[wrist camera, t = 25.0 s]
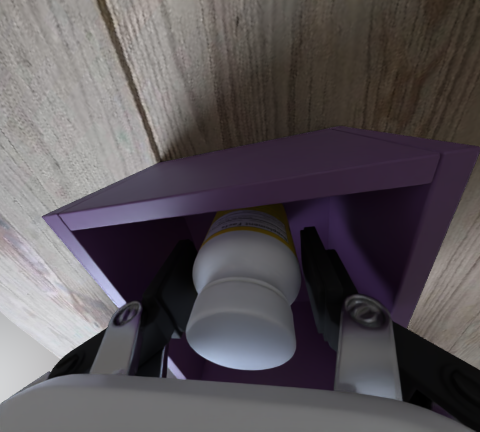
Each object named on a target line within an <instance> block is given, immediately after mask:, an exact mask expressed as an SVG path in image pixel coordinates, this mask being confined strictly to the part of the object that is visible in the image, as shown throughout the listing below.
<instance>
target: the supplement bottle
mask: <svg viewBox="0 0 480 432" xmlns="http://www.w3.org/2000/svg"><path fill="white" fill-rule="evenodd" d="M192 277H193V283H194V286H195V289H196V291H197V293H198V296H197V299H196V301H195V303H194V306H193V309H192V312H191V315H190V318H189V321H188V324H187V327H186V338H187V341H188V343H189V344H190V346H191V347H192V348H193V349H194V350H195V351H196V352H197V353H198V354H199V355H201V356H202V357H204V358H205V359H207V360H209V361H211V362H214V363H216V364H219V365H221V366H225V367H229V368H234V369H241V370H263V369H270V368H273V367H277V366H280V365H282V364H284V363H285V362H287V361H288V360H290V359H291V358H292V356H293V355H294V353H295V350H296V337H295V330H294V322H293V313H292V310H291V306H290V305H291V304H292V303H293V302H294V301H295V299H296V297H297V295H298V293H299V290H300V287H301V272H300V266H299V262H298V258H297V254H296V250H295V247H294V243H293V238H292V234H291V231H290V227H289V223H288V219H287V215H286V211H285V208H284V205H283V203H278V204H270V205H263V206H255V207H247V208H240V209H232V210H225V211H217V213H216V215H215V217H214V220H213V222H212V224H211V226H210V228H209V231H208V233H207V235H206V237H205V239H204V241H203V243H202V245H201V247H200V250H199V252H198V254H197V257H196V259H195V262H194V265H193V271H192Z"/></svg>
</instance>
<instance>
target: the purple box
mask: <svg viewBox="0 0 480 432" xmlns="http://www.w3.org/2000/svg"><path fill="white" fill-rule="evenodd" d="M479 154H480V147H479V146H473V145H466V144H459V143H453V142H446V141H439V140H432V139H425V138H419V137H412V136H405V135H398V134H392V133H385V132H378V131H371V130H364V129H358V128H351V127H345V126H337V127H332V128H327V129H322V130H317V131H312V132H307V133H302V134H298V135H293V136H288V137H283V138H278V139H273V140H268V141H263V142H258V143H253V144H248V145H244V146H239V147H234V148H229V149H224V150H219V151H214V152H209V153H204V154H199V155H194V156H189V157H185V158H180V159H175V160H170V161H165V162H160V163H157V164H155V165H153V166H151V167H148V168H146V169H144V170H142V171H140V172H137V173H135V174H133V175H131V176H129V177H126V178H124V179H122V180H120V181H118V182H116V183H113V184H111V185H109V186H107V187H105V188H102V189H100V190H98V191H96V192H94V193H91V194H89V195H87V196H85V197H83V198H81V199H78V200H76V201H74V202H72V203H70V204H67V205H65V206H63V207H61V208H59V209H56V210H54V211H52V212H50V213H48V214H46V215H43V216H42V218H43V219H44V220H45V221H46V223H47V224H48V225H49V226H50V227H51V229H52V230H53V231H54V232H55V233H56V234H57V236H58V237H59V238H60V239H61V240H62V242H63V243H64V244H65V245H66V246H67V248H68V249H69V250H70V251H71V252H72V254H73V255H74V256H75V257H76V258H77V260H78V261H79V262H80V263H81V264H82V265H83V267H84V268H85V269H86V270H87V271H88V273H89V274H90V275H91V276H92V277H93V279H94V280H95V281H96V282H97V283H98V285H99V286H100V287H101V288H102V289H103V291H104V292H105V293H106V294H107V295H108V296H109V298H110V299H111V300H112V301H113V302H114V304H115V305H116V306H117V307H118V308H120V307H121V306H123V305H124V304H126V303H128V302H130V301H133V300H139V301H141V300H142V299H143V297H142V295H143V293H144V292H145V290H146V289H147V287H148V286H149V284H150V283H151V281H152V280H153V278H154V277H155V275H156V274H157V272H158V271H159V269H160V268H161V266H162V265H163V263H164V262H165V261H166V259H167V258H168V256H169V255H170V253H171V252H172V250H173V249H174V247H175V246H176V244H177V243H178V241H179V240H184V239H189V240H190V241H192V242H193V243H194V245H195V248H196V250H197V253H198V252H199V250H200V247H201V245H202V243H203V241H204V239H205V237H206V235H207V233H208V231H209V228H210V226H211V224H212V222H213V220H214V217H215V215H216V213H217V211H225V210H232V209H240V208H247V207H255V206H263V205H270V204H278V203H283V205H284V208H285V211H286V215H287V219H288V223H289V227H290V231H291V234H292V238H293V243H294V247H295V250H296V254H297V258H298V262H299V266H300V272H301V287H300V290H299V293H298V295H297V297H296V299H295V301H294V302H293V303H292V304H291V305H290V306H291V310H292V313H293V322H294V330H295V337H296V350H295V353H294V355H293V356H292V358H291V359H290V360H288V361H287V362H285V363H284V364H282V365H280V366H277V367H273V368H270V369H263V370H241V369H234V368H229V367H225V366H221V365H219V364H216V363H214V362H211V361H209V360H207V359H205V358H204V357H202V356H201V355H199V354H198V353H197V352H196V351H195V350H194V349H193V348H192V347H191V346H190V344H189V343H188V341H187V338H186V331H185V332H183V334H182V337H181V339H178V338H171V339H170V342H169V351H168V365H167V367H168V368H169V369H170V370H171V372H172V373H173V374H174V375H175V376H176V377H177V379H187V380H201V381H215V382H229V383H243V384H256V385H270V386H283V387H296V388H309V389H319V390H330V391H333V389H334V378H335V368H336V357H337V352H336V351H335V350H333V349H332V348H331V347H330V346H329V343H328V341H324V337H323V333H318V331H317V327H316V323H315V319H314V315H313V311H312V307H311V303H310V299H309V295H308V291H307V287H306V283H305V279H304V275H303V271H302V260H301V241H300V230H304V227H311V226H315V228H316V230H317V232H318V234H319V237H320V239H321V241H322V243H323V245H324V248H325V250H328V249H335V250H336V252H337V253H338V255H339V257H340V259H341V261H342V263H343V265H344V267H345V268H346V270H347V272H348V274H349V276H350V278H351V280H352V282H353V284H354V285H355V287H356V289H357V291H358V293H359V294H365V295H368V296H371V297H373V298H375V299H376V300H378V301H380V302H381V303H382V304H383V305H384V306H385V307H386V308H387V310H388V311H389V313H390V316H391V318H392V321H394V322H396V323H397V324H399V325H401V326H403V327H404V328H406V329H407V327H408V324H409V322H410V319H411V317H412V315H413V312H414V310H415V307H416V305H417V303H418V300H419V298H420V295H421V293H422V291H423V288H424V286H425V283H426V281H427V279H428V276H429V274H430V271H431V269H432V267H433V264H434V262H435V259H436V257H437V254H438V252H439V250H440V247H441V245H442V242H443V240H444V238H445V235H446V233H447V230H448V228H449V226H450V223H451V221H452V218H453V216H454V214H455V211H456V209H457V206H458V204H459V202H460V199H461V197H462V194H463V192H464V190H465V187H466V185H467V182H468V180H469V178H470V175H471V173H472V170H473V168H474V166H475V163H476V161H477V158H478V156H479Z"/></svg>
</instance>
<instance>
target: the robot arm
mask: <svg viewBox="0 0 480 432" xmlns="http://www.w3.org/2000/svg"><path fill="white" fill-rule="evenodd" d="M300 241H301V260H302V271H303V275H304V279H305V283H306V287H307V291H308V295H309V299H310V303H311V307H312V311H313V315H314V319H315V323H316V327H317V331H318V333H323V337H324V341H328V343H329V346H330V347H331V348H332V349H333V350H335V351H336V352H337V357H336V368H335V378H334V389H333V391H330V390H319V389H309V388H296V387H283V386H270V385H256V384H243V383H229V382H215V381H201V380H187V379H172V378H167V365H168V351H169V342H170V339H171V338H178V339H181V337H182V334H183V332H185V331H186V327H187V324H188V321H189V318H190V315H191V312H192V309H193V306H194V303H195V301H196V299H197V296H198V293H197V291H196V289H195V286H194V283H193V277H192V271H193V265H194V262H195V259H196V257H197V254H198V253H197V250H196V248H195V245H194V243H193V242H192V241H190V240H189V239H184V240H179V241H178V243H177V244H176V246H175V247H174V249H173V250H172V252H171V253H170V255H169V256H168V258H167V259H166V261H165V262H164V263H163V265H162V266H161V268H160V269H159V271H158V272H157V274H156V275H155V277H154V278H153V280H152V281H151V283H150V284H149V286H148V287H147V289H146V290H145V292H144V293H143V295H142V297H143V299H142V300H141V301H139V300H133V301H130V302H128V303H126V304H124V305H123V306H121V307H120V308H119V309H118V310H117V311H116V312H115V313H114V314H113V316H112V318H111V320H110V322H109V325H108V327H107V328H106V329H104V330H103V331H101V332H100V333H98V334H97V335H95V336H94V337H92V338H91V339H89V340H88V341H86V342H84V343H83V344H81V345H80V346H78V347H77V348H75V349H74V350H72V351H71V352H69V353H68V354H67V355H65V356H64V357H63V358H62V359H61V360H60V361H59V362H58V363H57V364H56V365H55V367H54V368H53V369H52V371H51V372H47V373H46V374H44V375H43V376H41V377H40V378H38V379H37V380H35V381H34V382H32V383H31V384H29V385H28V386H26V387H25V388H23V389H22V390H20V391H19V392H17V393H16V394H14V395H13V396H11V397H10V398H8V399H7V400H5V401H4V402H2V403H1V404H0V432H480V370H478V369H477V368H475V367H473V366H472V365H470V364H468V363H466V362H465V361H463V360H461V359H459V358H458V357H456V356H454V355H452V354H450V353H449V352H447V351H445V350H443V349H442V348H440V347H438V346H436V345H434V344H433V343H431V342H429V341H427V340H426V339H424V338H422V337H420V336H419V335H417V334H415V333H413V332H411V331H410V330H408V329H406V328H404V327H403V326H401V325H399V324H397V323H396V322H394V321H392V318H391V316H390V313H389V311H388V310H387V308H386V307H385V306H384V305H383V304H382V303H381V302H380V301H378V300H376V299H375V298H373V297H371V296H368V295H365V294H359V293H358V291H357V289H356V287H355V285H354V284H353V282H352V280H351V278H350V276H349V274H348V272H347V270H346V268H345V267H344V265H343V263H342V261H341V259H340V257H339V255H338V253H337V252H336V250H335V249H328V250H325V248H324V245H323V243H322V241H321V239H320V237H319V234H318V232H317V230H316V228H315V226H311V227H304V230H300Z"/></svg>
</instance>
